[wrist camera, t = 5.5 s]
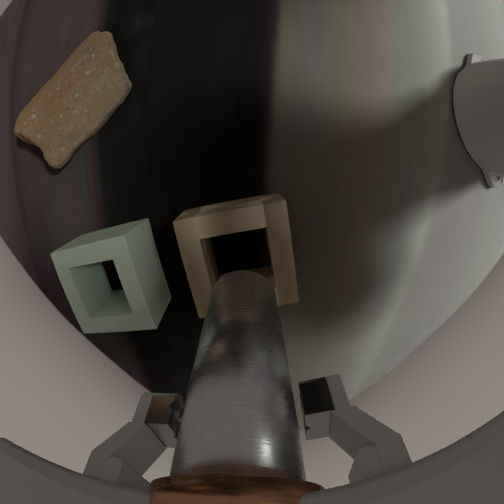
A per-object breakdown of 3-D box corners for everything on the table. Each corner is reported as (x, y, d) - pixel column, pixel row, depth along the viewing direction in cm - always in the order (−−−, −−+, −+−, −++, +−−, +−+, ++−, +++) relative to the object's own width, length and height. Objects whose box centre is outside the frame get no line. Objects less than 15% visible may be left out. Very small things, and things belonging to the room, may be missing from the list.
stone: (22, 116, 21) (6, 116, 18) (111, 27, 18) (98, 17, 15) (52, 181, 24) (36, 185, 21) (151, 90, 22) (140, 83, 19)
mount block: (278, 192, 25) (286, 201, 21) (290, 278, 28) (299, 302, 24) (185, 209, 26) (172, 221, 21) (206, 292, 29) (199, 318, 24)
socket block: (148, 218, 26) (124, 234, 20) (171, 297, 29) (156, 328, 23) (80, 235, 26) (50, 253, 20) (105, 305, 29) (83, 333, 23)
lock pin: (279, 255, 15) (338, 501, 3) (289, 326, 17) (325, 530, 5) (193, 269, 16) (107, 494, 3) (213, 337, 17) (184, 534, 5)
